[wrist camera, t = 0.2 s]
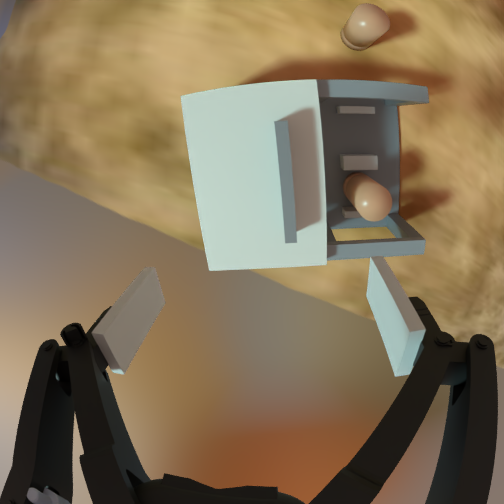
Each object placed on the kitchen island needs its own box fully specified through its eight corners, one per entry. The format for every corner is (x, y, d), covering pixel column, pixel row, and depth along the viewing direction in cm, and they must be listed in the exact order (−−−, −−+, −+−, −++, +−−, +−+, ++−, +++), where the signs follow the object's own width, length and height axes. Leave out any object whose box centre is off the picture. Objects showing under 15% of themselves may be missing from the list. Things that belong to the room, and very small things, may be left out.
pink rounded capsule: (338, 23, 29) (350, 1, 21) (367, 25, 29) (386, 6, 21) (343, 49, 31) (357, 32, 23) (372, 51, 31) (393, 36, 23)
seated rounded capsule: (342, 172, 39) (357, 185, 31) (371, 171, 38) (392, 184, 30) (343, 202, 41) (356, 222, 33) (371, 201, 40) (391, 220, 32)
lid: (184, 96, 27) (170, 93, 23) (315, 81, 25) (320, 74, 21) (211, 266, 35) (203, 283, 32) (325, 260, 33) (330, 277, 30)
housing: (213, 101, 37) (189, 94, 27) (394, 93, 33) (427, 86, 23) (231, 233, 46) (216, 266, 36) (396, 224, 42) (423, 254, 32)
